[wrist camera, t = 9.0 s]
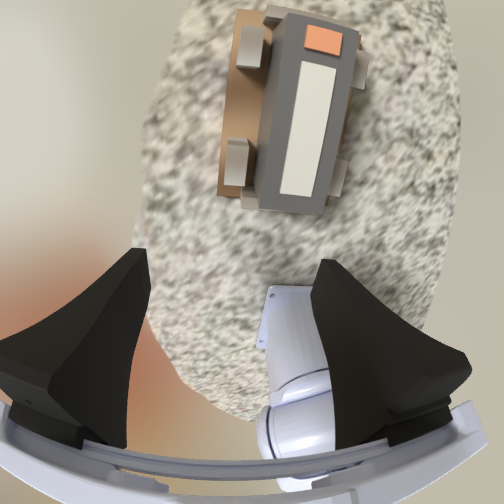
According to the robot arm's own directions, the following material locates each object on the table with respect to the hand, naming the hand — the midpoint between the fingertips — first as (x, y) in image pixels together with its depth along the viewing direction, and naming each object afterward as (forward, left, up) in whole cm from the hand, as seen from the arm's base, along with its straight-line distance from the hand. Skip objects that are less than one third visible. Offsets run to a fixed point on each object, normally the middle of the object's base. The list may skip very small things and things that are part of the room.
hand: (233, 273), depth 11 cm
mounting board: (+6, -3, -10) cm, 12 cm away
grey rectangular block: (+6, -3, -9) cm, 11 cm away
